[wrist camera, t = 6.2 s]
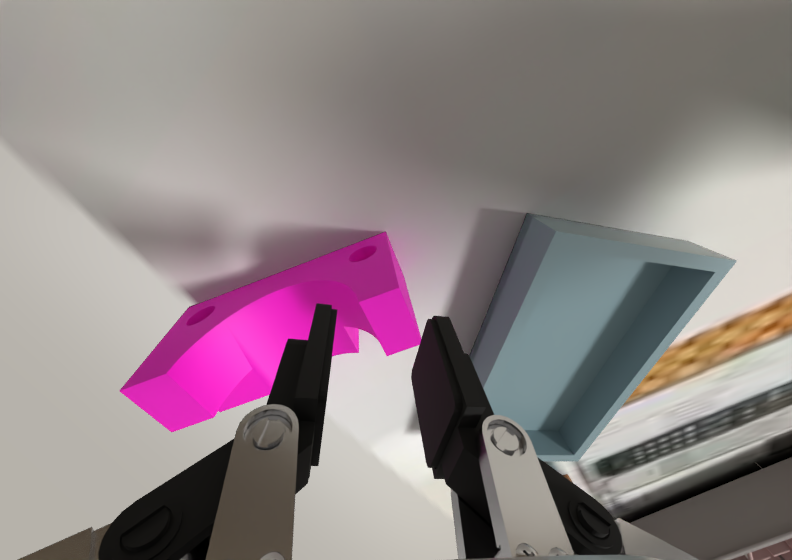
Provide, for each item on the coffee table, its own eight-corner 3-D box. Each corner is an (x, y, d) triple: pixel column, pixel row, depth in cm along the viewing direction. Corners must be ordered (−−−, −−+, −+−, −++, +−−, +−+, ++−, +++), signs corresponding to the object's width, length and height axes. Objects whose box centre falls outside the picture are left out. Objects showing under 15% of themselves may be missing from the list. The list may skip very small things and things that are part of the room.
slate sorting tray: (688, 241, 24) (736, 260, 21) (558, 430, 34) (578, 461, 31) (527, 213, 21) (555, 231, 18) (440, 427, 32) (449, 461, 29)
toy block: (240, 364, 25) (200, 455, 18) (189, 306, 22) (119, 390, 15) (413, 301, 24) (435, 374, 17) (385, 230, 21) (399, 287, 14)
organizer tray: (598, 520, 49) (651, 609, 40) (885, 400, 40) (1030, 480, 32) (642, 568, 63) (688, 641, 55) (859, 488, 55) (953, 559, 46)
